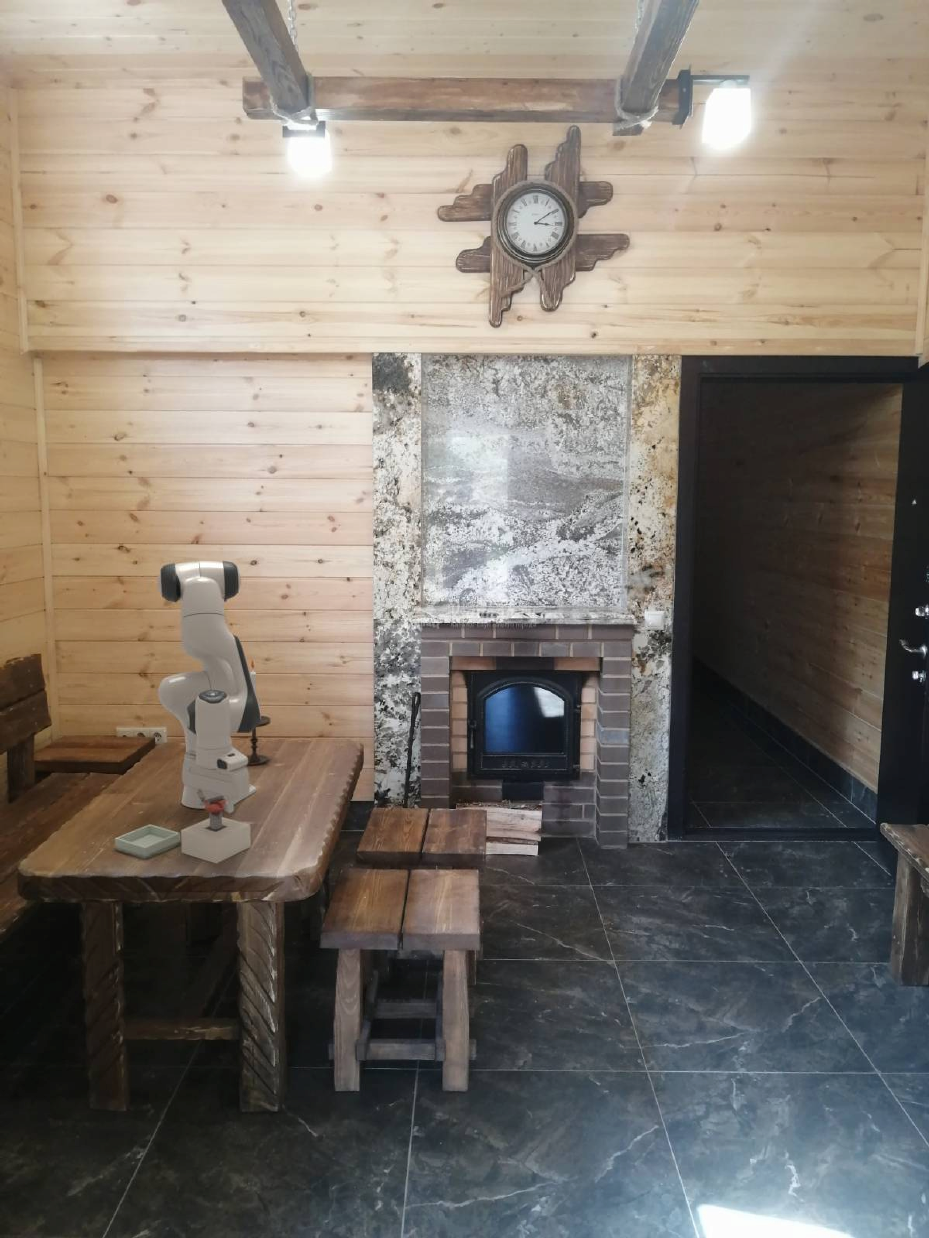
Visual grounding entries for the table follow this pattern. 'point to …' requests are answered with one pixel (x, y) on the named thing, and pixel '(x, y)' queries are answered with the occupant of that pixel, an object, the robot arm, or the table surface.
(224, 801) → the red disc rod
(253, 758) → the candlestick
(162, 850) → the tray
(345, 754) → the table surface
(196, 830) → the block
